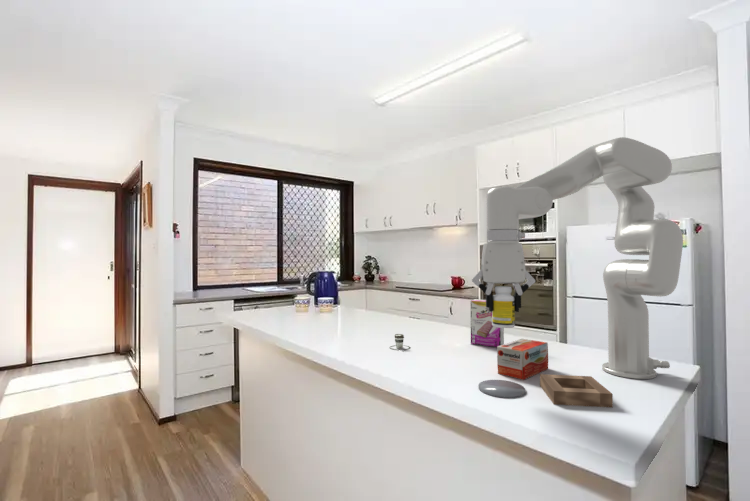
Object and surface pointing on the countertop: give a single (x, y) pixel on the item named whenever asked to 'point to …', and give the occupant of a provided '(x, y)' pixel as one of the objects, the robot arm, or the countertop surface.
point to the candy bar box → (484, 326)
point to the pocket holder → (575, 391)
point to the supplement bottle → (503, 308)
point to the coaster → (501, 388)
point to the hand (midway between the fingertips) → (503, 310)
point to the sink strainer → (399, 341)
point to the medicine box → (522, 358)
